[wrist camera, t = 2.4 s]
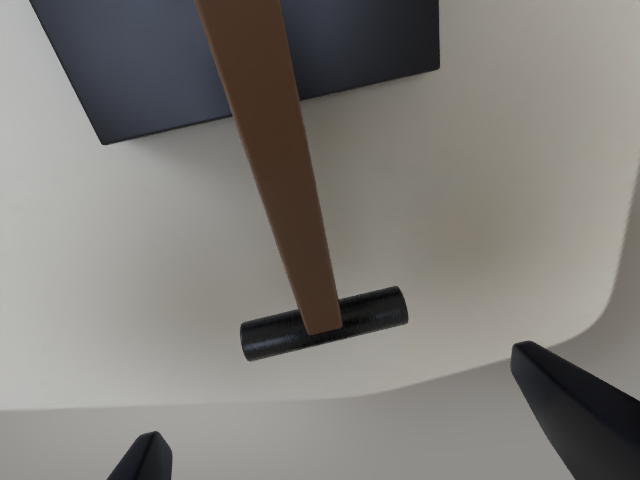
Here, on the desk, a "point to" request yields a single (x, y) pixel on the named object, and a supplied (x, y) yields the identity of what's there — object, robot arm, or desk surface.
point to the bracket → (198, 64)
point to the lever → (285, 182)
